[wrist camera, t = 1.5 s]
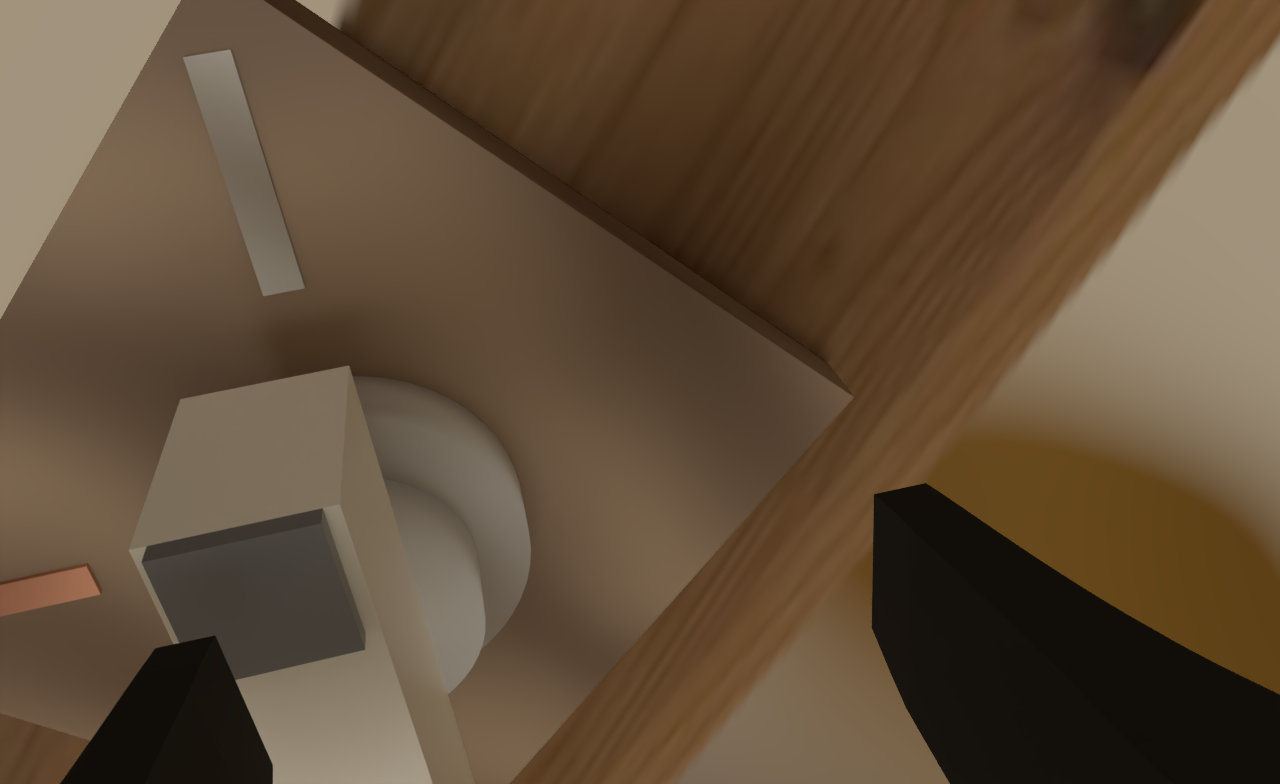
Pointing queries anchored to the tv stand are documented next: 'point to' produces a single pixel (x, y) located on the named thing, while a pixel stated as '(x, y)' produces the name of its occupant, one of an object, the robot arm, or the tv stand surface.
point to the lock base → (374, 366)
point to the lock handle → (315, 581)
